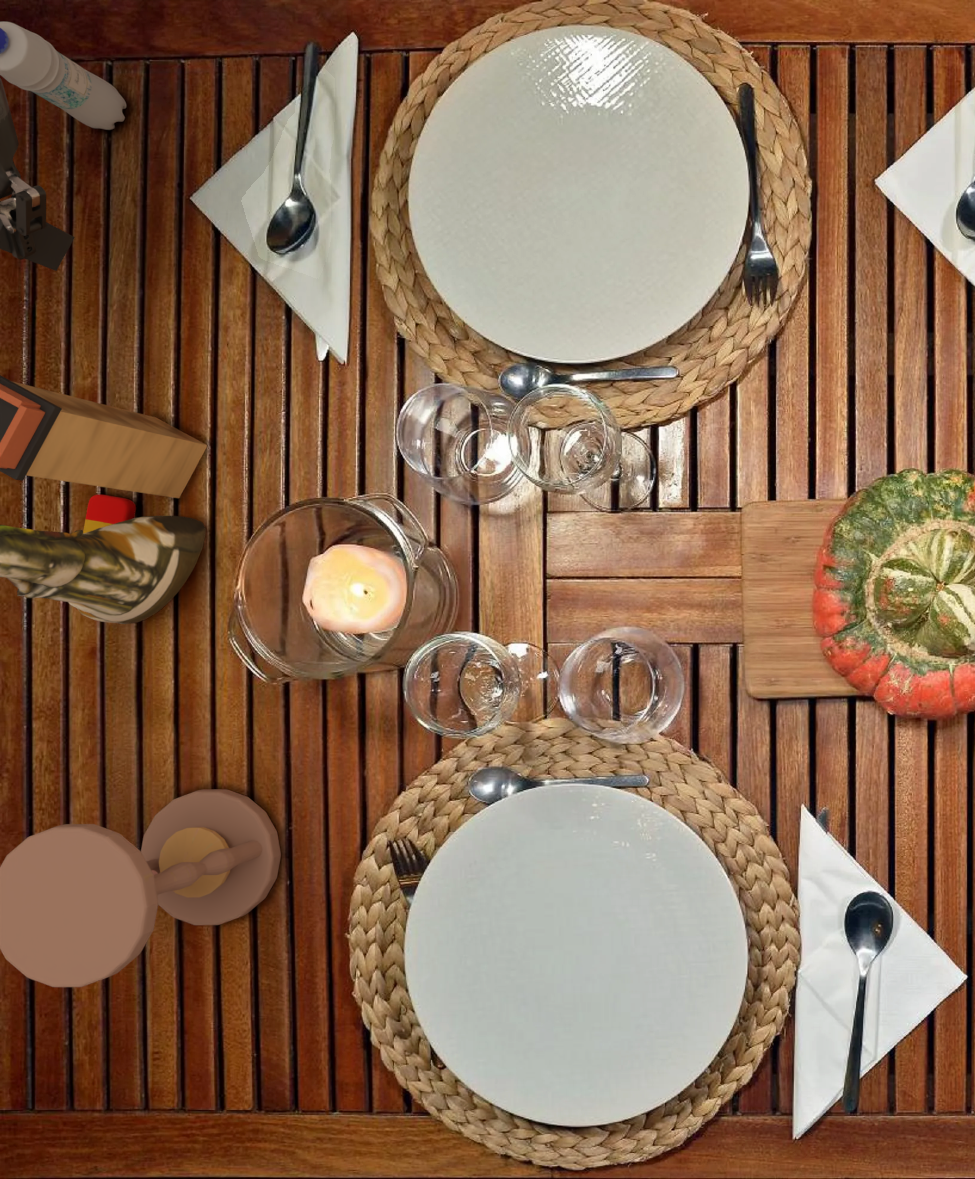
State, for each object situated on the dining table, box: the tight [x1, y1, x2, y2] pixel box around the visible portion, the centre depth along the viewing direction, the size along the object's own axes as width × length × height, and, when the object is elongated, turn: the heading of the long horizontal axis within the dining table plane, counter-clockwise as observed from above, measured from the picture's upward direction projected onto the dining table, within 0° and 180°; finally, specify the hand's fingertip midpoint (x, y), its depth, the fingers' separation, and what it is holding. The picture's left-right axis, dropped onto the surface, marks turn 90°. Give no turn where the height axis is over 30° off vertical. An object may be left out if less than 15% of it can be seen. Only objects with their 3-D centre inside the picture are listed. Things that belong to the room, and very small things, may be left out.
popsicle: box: [82, 493, 137, 534], centre depth 141 cm, size 6×15×2 cm, turn 170°
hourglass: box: [0, 788, 282, 988], centre depth 128 cm, size 18×18×25 cm
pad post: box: [0, 200, 75, 272], centre depth 123 cm, size 5×5×9 cm
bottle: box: [0, 21, 127, 131], centre depth 133 cm, size 7×7×20 cm
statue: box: [0, 514, 207, 625], centre depth 124 cm, size 16×11×35 cm, turn 142°
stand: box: [11, 380, 208, 499], centre depth 130 cm, size 8×8×25 cm
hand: (5, 244), depth 122 cm, fingers closed on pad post, 4 cm apart
